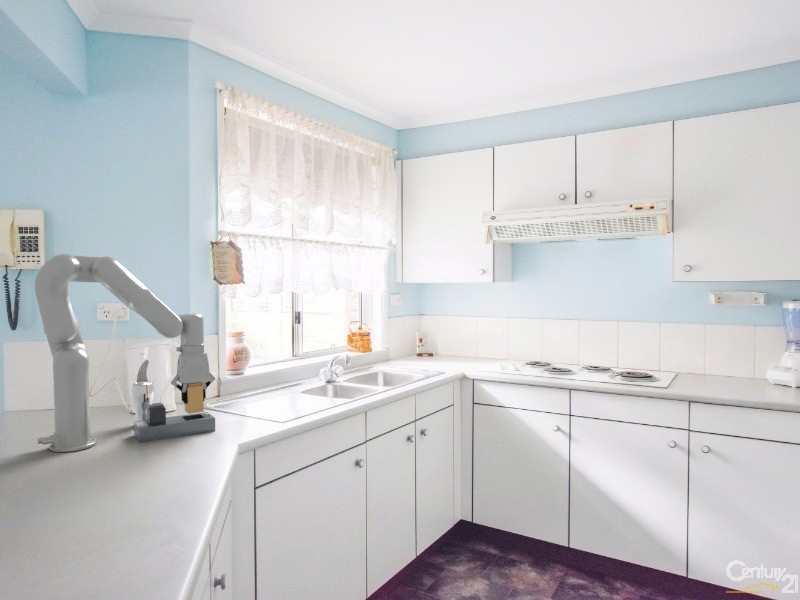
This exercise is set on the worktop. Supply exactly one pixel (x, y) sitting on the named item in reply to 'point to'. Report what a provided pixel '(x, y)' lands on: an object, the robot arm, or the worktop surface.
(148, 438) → the power strip
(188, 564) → the worktop surface
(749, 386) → the worktop surface
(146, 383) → the beer glass
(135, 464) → the worktop surface
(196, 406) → the plug
